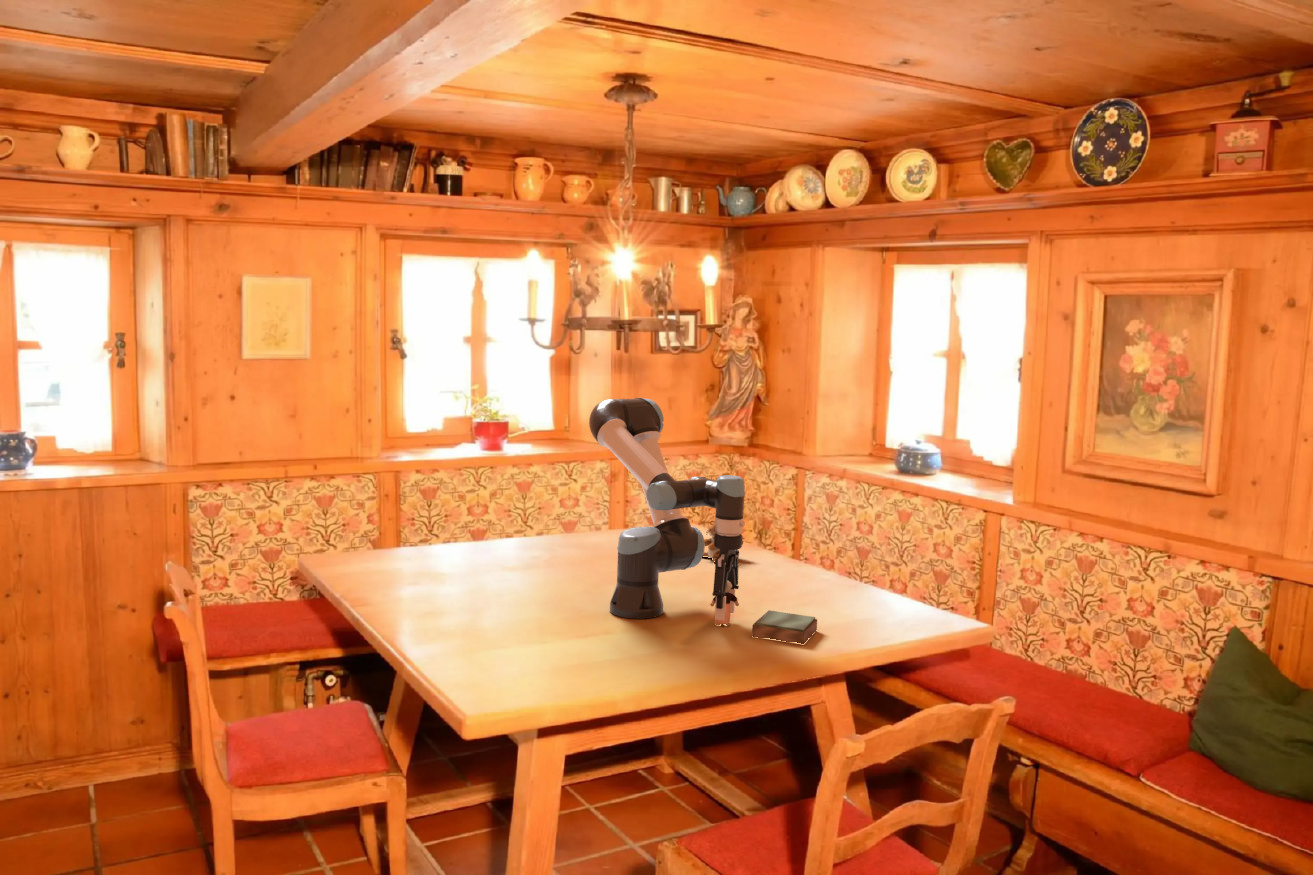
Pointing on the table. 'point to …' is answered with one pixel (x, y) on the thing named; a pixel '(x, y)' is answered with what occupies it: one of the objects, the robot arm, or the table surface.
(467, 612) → the table surface
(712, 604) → the grandmother figurine
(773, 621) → the sage green square panel
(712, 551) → the stuffed squirrel
